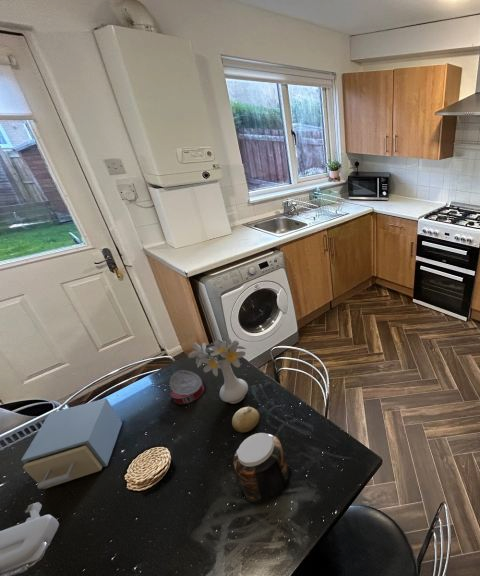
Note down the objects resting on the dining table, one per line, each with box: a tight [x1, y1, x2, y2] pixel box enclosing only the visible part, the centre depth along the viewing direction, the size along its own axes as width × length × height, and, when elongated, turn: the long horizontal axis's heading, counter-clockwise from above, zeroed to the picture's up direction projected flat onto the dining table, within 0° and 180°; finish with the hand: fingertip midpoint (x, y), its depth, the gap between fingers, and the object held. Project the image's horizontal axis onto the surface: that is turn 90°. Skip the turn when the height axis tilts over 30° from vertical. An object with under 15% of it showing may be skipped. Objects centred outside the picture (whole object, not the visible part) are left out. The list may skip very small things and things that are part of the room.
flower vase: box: [187, 335, 249, 405], centre depth 105 cm, size 13×18×25 cm
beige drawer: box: [22, 444, 103, 490], centre depth 87 cm, size 19×13×10 cm, turn 24°
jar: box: [232, 432, 290, 504], centre depth 82 cm, size 12×12×15 cm
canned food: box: [168, 369, 205, 405], centre depth 112 cm, size 11×10×10 cm
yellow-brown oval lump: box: [231, 404, 260, 433], centre depth 99 cm, size 8×8×7 cm
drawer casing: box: [20, 397, 123, 469], centre depth 91 cm, size 16×14×12 cm
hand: (6, 514), depth 65 cm, fingers open, 8 cm apart
